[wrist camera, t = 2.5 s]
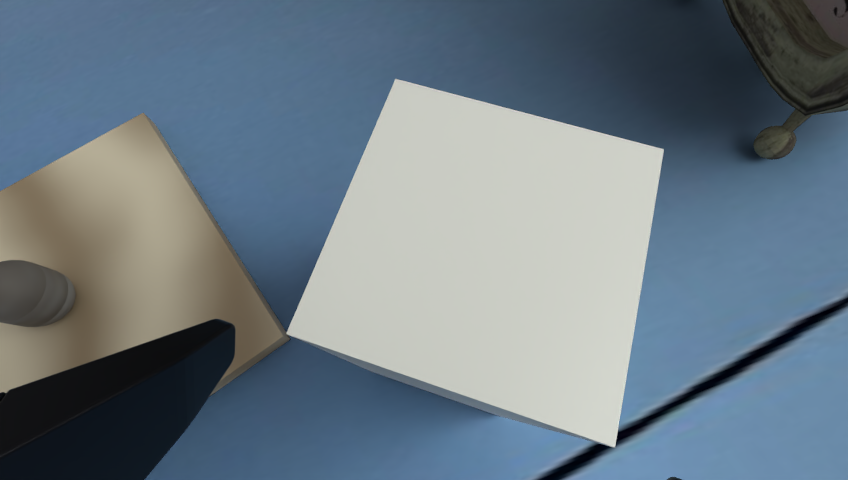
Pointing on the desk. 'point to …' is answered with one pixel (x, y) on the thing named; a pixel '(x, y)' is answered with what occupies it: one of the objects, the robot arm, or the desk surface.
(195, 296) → the post stand
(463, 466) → the desk surface
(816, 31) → the tabletop clock
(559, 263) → the tall white pillar
